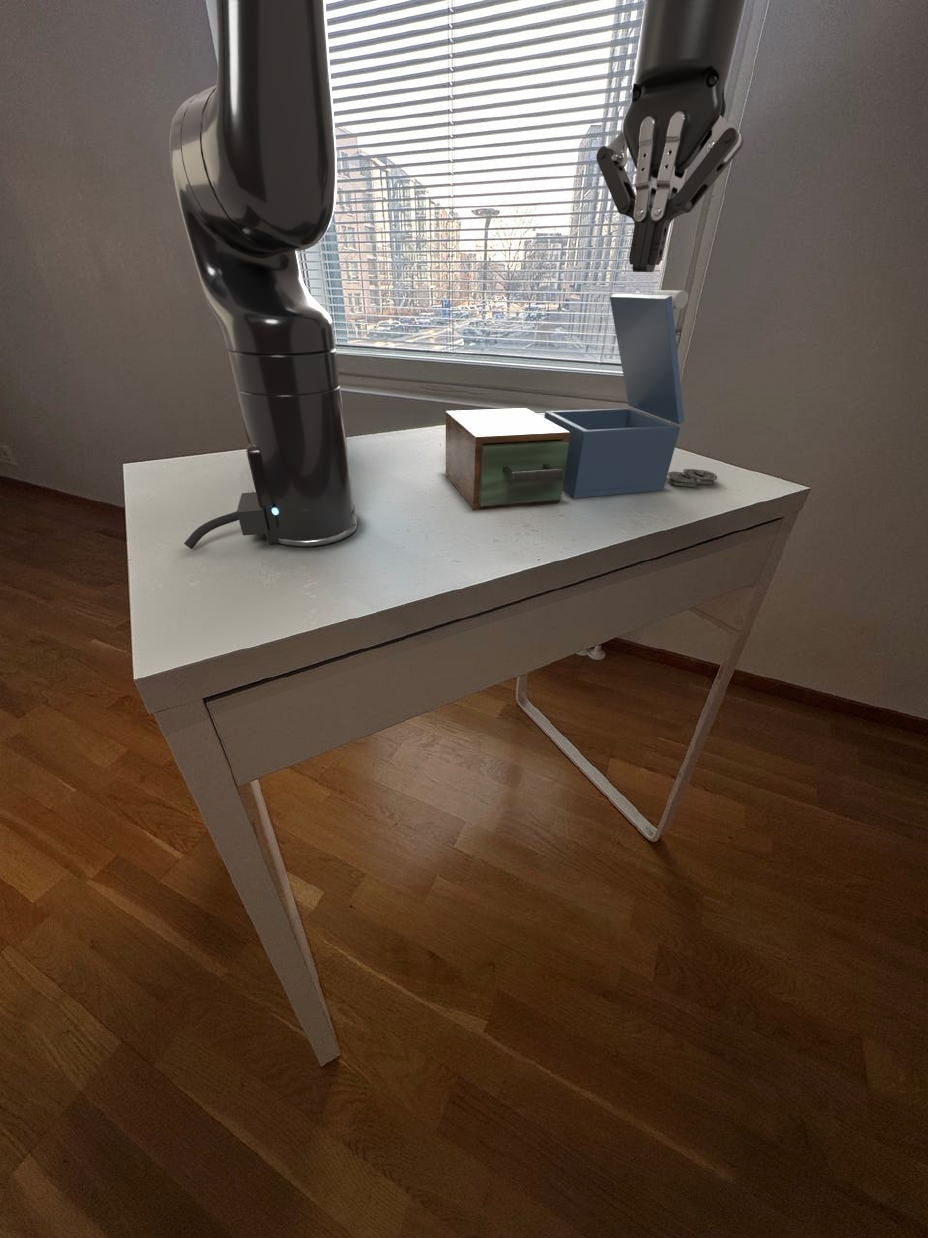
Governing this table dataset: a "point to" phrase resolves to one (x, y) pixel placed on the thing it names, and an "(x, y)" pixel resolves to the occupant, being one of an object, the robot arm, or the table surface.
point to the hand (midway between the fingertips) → (642, 271)
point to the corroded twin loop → (691, 477)
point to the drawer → (521, 472)
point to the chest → (615, 451)
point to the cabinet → (490, 427)
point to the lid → (650, 351)
